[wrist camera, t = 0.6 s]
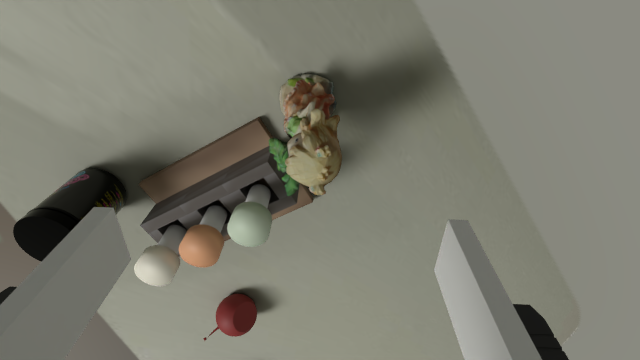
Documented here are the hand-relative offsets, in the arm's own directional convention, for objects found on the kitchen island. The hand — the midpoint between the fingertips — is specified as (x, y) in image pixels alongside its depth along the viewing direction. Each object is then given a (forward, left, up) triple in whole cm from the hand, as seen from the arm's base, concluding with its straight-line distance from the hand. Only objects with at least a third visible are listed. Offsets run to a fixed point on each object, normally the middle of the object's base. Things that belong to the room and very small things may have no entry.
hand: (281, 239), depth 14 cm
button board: (+8, -17, -27) cm, 33 cm away
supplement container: (0, -31, -27) cm, 42 cm away
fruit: (+26, -29, -27) cm, 48 cm away
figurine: (+4, -3, -27) cm, 28 cm away
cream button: (+8, -23, -22) cm, 32 cm away
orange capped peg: (+8, -17, -22) cm, 29 cm away
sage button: (+8, -11, -22) cm, 26 cm away
